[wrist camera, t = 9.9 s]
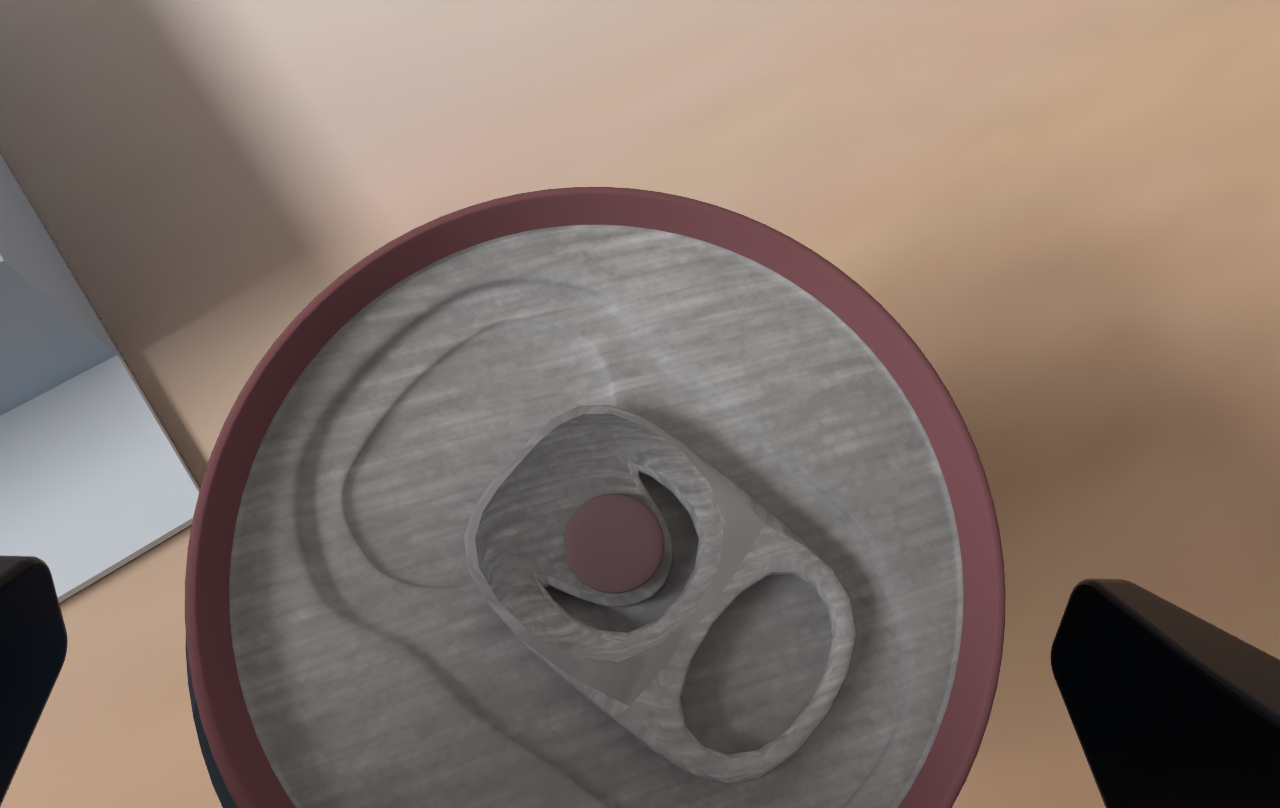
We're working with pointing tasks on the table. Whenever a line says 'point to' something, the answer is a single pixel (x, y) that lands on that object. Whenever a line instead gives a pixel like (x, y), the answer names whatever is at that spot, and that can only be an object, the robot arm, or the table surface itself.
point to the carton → (73, 422)
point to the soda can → (593, 530)
